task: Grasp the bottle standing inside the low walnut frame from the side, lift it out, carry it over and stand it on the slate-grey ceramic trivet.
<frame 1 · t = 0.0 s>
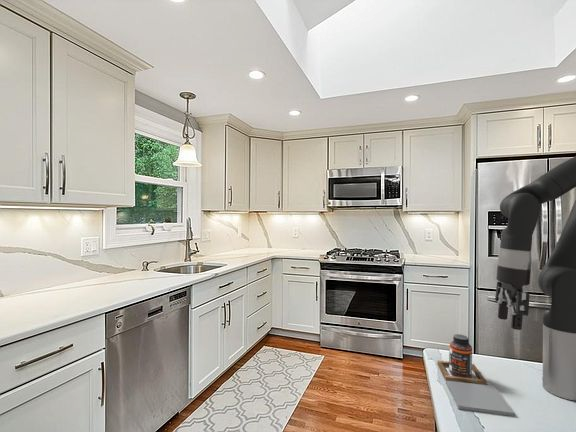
hand: (508, 323, 88), 17 cm above the countertop, tool pointing down, fingers open, 8 cm apart
supplement bottle: (460, 375, 94), resting in walnut frame
trivet: (476, 398, 82), on the countertop
walnut frame: (460, 374, 94), on the countertop
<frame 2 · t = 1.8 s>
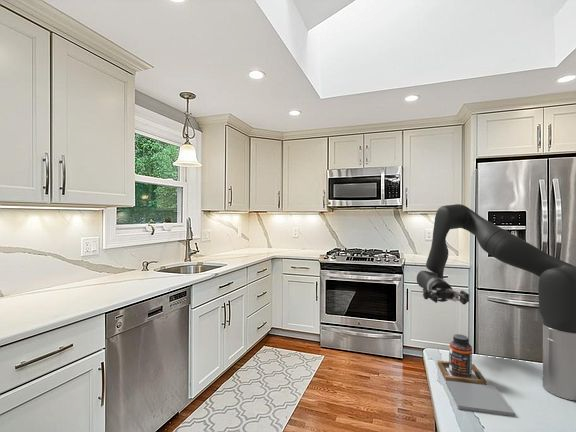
hand: (450, 300, 105), 19 cm above the countertop, tool horizontal, fingers open, 8 cm apart
nothing on the countertop moved.
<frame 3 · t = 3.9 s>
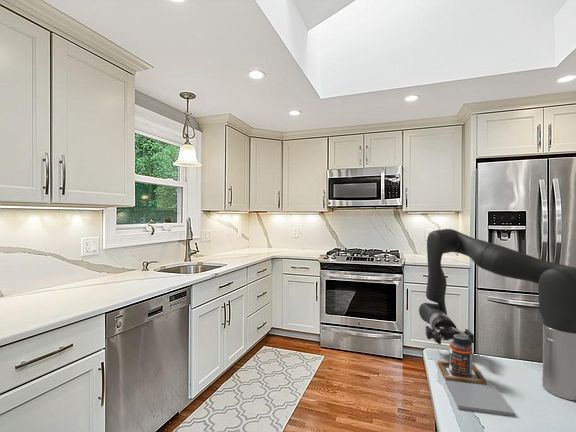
hand: (454, 342, 101), 7 cm above the countertop, tool horizontal, fingers open, 8 cm apart
nothing on the countertop moved.
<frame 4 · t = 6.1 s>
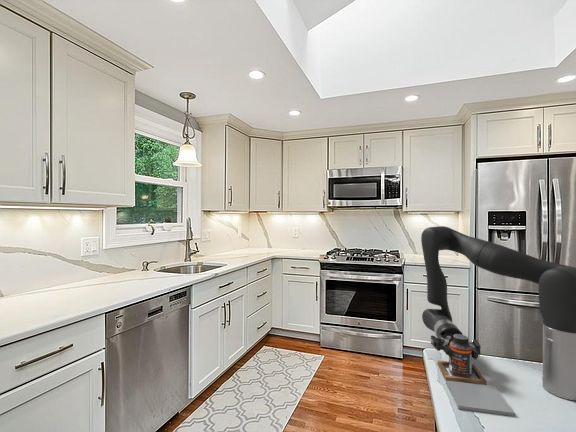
hand: (463, 354, 92), 7 cm above the countertop, tool horizontal, fingers closed on supplement bottle, 6 cm apart
supplement bottle: (460, 375, 94), resting in walnut frame, touching gripper
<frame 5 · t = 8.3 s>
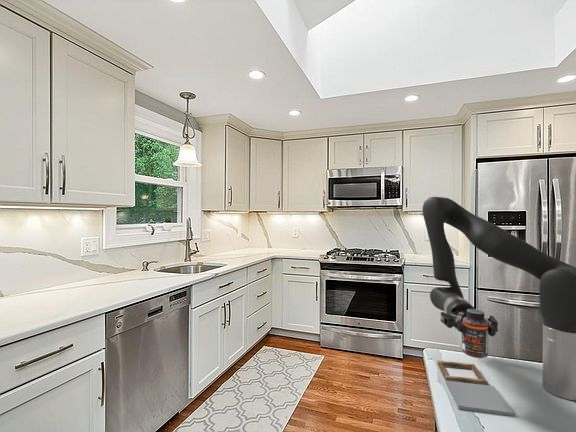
hand: (478, 331, 81), 18 cm above the countertop, tool horizontal, fingers closed on supplement bottle, 6 cm apart
supplement bottle: (474, 354, 83), point 11 cm above the countertop, touching gripper
when the fingers open (8 cm above the countertop, at t = 10.7 s): supplement bottle stays where it is, resting on trivet.
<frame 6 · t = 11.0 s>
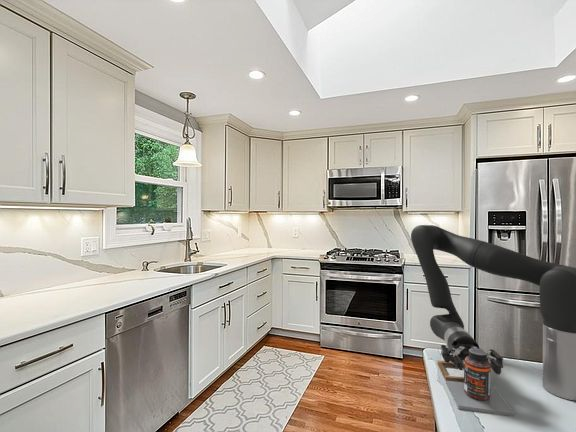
hand: (479, 368, 80), 9 cm above the countertop, tool horizontal, fingers open, 8 cm apart
supplement bottle: (476, 395, 82), point 1 cm above the countertop, touching trivet
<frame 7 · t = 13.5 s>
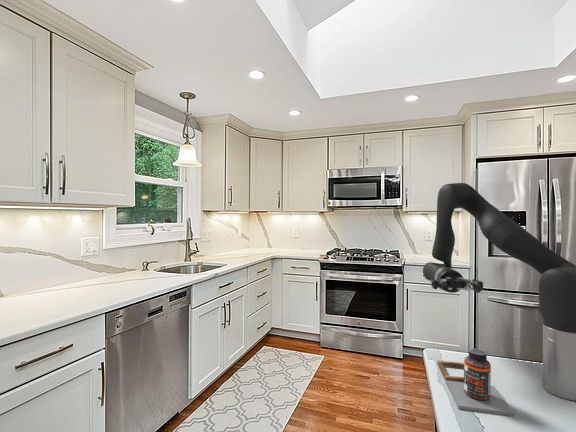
hand: (462, 288, 94), 25 cm above the countertop, tool horizontal, fingers open, 8 cm apart
nothing on the countertop moved.
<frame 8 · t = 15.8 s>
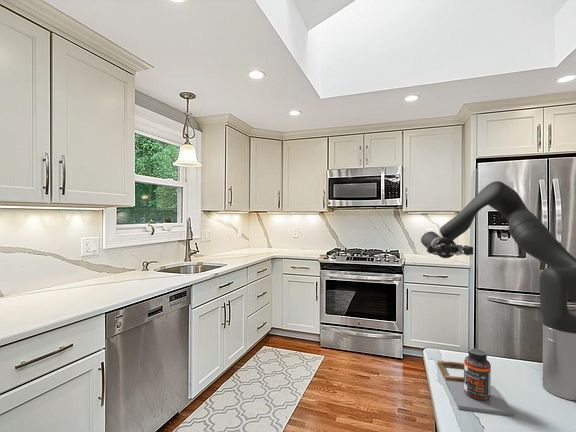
hand: (454, 251, 106), 35 cm above the countertop, tool horizontal, fingers open, 8 cm apart
nothing on the countertop moved.
at the end: supplement bottle inside the target area on the trivet (0.2 cm from its centre), point 0.6 cm above the trivet's base; supplement bottle tilted 0°; the gripper is holding nothing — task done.
